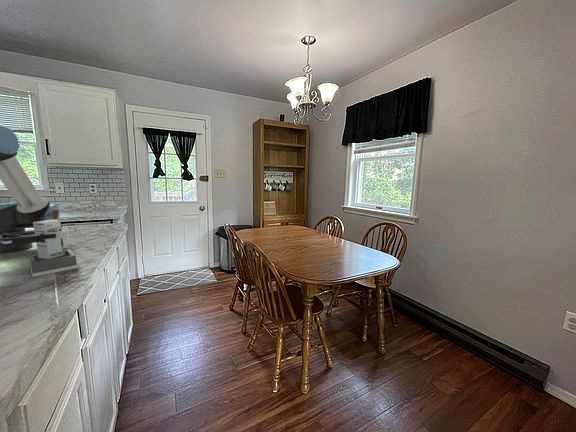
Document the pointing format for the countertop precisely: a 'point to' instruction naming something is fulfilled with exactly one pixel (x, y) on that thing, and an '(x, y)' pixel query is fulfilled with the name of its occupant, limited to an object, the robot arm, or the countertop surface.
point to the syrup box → (49, 246)
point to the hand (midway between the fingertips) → (65, 232)
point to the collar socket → (52, 263)
